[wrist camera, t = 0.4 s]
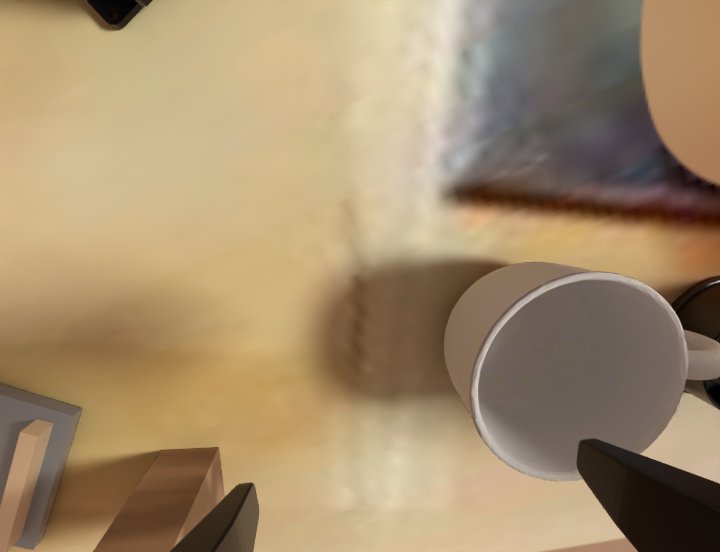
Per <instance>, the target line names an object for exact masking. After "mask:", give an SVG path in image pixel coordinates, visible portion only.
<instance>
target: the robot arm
mask: <svg viewBox="0 0 720 552" xmlns="http://www.w3.org/2000/svg"><path fill="white" fill-rule="evenodd" d="M87 1H88V2H89V4H90V5H91V6H92V7H93V8H94V9H95V10H96V11H97V12H98V13H99V14H100V16H101V17H102V18H103V19H104V20H105V21H106V22H108V23H109V24H110V25H111V26H113V27H114V28H117V29H121V28H123V27H125V26H126V25H127V24H128V23H129V22H130V21H131V19H132V18H133V17H134V16H135V15H136V14H137V13H138V12H139V11H140V10H141V9H142V8H143V7H144V6H147V5H148V4H149V3H150V2H151V1H152V0H87ZM114 12H117V18H116V19H112V14H113V13H114ZM576 465H577V469H578V472H579V474H580V475H581V477H582V478H583V479H584V481H585V482H586V484H587V485H588V487H589V488H590V489H591V491H592V492H593V494H594V495H595V496H596V498H597V499H598V501H599V502H600V503H601V505H602V506H603V508H604V509H605V510H606V512H607V513H608V515H609V516H610V517H611V519H612V520H613V521H614V523H615V524H616V525H617V527H618V528H619V529H620V530H621V532H622V533H623V534H624V535H625V537H626V538H627V539H628V540H629V541H630V542H631V544H632V545H633V546H634V547H635V548H636V549H637V551H638V552H720V484H719V483H717V482H714V481H711V480H708V479H706V478H703V477H700V476H697V475H695V474H692V473H689V472H686V471H684V470H681V469H678V468H675V467H673V466H670V465H667V464H664V463H662V462H659V461H656V460H653V459H651V458H648V457H645V456H643V455H640V454H637V453H634V452H632V451H629V450H626V449H623V448H621V447H618V446H615V445H612V444H610V443H607V442H604V441H601V440H599V439H595V438H590V439H582V440H580V442H579V444H578V452H577V459H576ZM258 519H259V504H258V499H257V494H256V489H255V485H254V484H253V483H252V482H250V483H243V484H238V485H237V486H236V487H235V488H234V489H233V490H232V491H231V492H230V493H229V494H228V495H226V496H225V497H224V498H223V499H222V500H221V501H220V502H219V503H218V504H217V505H216V506H215V507H214V508H213V509H212V510H211V511H210V512H209V513H208V514H207V515H206V516H205V517H204V518H203V519H202V520H201V521H200V522H199V523H198V524H197V525H196V526H195V527H194V528H193V529H192V530H191V531H190V532H189V533H188V534H187V535H186V536H185V537H184V538H183V539H182V540H181V541H180V542H179V543H178V544H176V545H175V546H174V547H173V548H172V549H171V550H170V551H169V552H253V549H254V543H255V537H256V531H257V525H258Z"/></svg>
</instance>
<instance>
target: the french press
mask: <svg viewBox="0 0 720 552" xmlns="http://www.w3.org/2000/svg"><path fill="white" fill-rule="evenodd" d="M671 307H672V309H673V310H674V311H675V313H676V315H677V316H678V318H679V320H680V322H681V325H682V328H683V330H686V331H690V332H694V333H697V334H700V335H704V336H706V337H708V338H711V339H713V340H715V341H716V340H717V338H718V337H719V336H720V277H715V278H712V279H709V280H706V281H704V282H701V283H699V284H698V285H696V286H694V287H692V288H691V289H689V290H688V291H687V292H685V293H684V294H683V295H682V296H680V297H679V298H678V299H677V300H676V301H675V302H674V303H673V305H672V306H671ZM683 392H685V393H690V394H692V395H694V396H696V397H698V398H699V399H701V400H703V401H705V402H707V403H708V404H710V405H712V406H714V407H715V408H717V409H719V410H720V377H718V378H716V379H710V380H689V379H686V382H685V389H684V391H683Z"/></svg>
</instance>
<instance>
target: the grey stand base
mask: <svg viewBox="0 0 720 552" xmlns="http://www.w3.org/2000/svg"><path fill="white" fill-rule="evenodd" d="M81 411H82V408H79V407H76V406H73V405H70V404H66V403H63V402H60V401H56V400H53V399H50V398H46V397H43V396H40V395H36V394H33V393H30V392H26V391H23V390H20V389H17V388H13V387H10V386H7V385H3V384H0V552H7V551H8V550H9V549H10V548H11V547H12V546H18V547H22V548H26V549H31V550H34V548H35V547H36V546H37V545H38V544H39V543H40V541H41V540H42V539H43V536H44V533H45V529H46V526H47V523H48V519H49V516H50V513H51V510H52V506H53V503H54V500H55V496H56V493H57V490H58V487H59V483H60V480H61V477H62V473H63V470H64V467H65V464H66V460H67V457H68V454H69V450H70V447H71V444H72V441H73V437H74V434H75V431H76V427H77V424H78V421H79V418H80V414H81Z"/></svg>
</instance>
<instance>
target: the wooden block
mask: <svg viewBox="0 0 720 552" xmlns="http://www.w3.org/2000/svg"><path fill="white" fill-rule="evenodd" d="M224 497H225V495H224V487H223V478H222V470H221V462H220V453H219V447H216V448H196V449H175V450H161V451H160V453H159V454H158V456H157V457H156V459H155V460H154V462H153V463H152V465H151V466H150V468H149V469H148V471H147V472H146V474H145V475H144V477H143V478H142V480H141V481H140V483H139V484H138V486H137V487H136V489H135V490H134V492H133V493H132V494H131V496H130V497H129V499H128V500H127V502H126V503H125V505H124V506H123V508H122V509H121V511H120V512H119V514H118V515H117V517H116V518H115V520H114V521H113V523H112V524H111V526H110V527H109V529H108V530H107V532H106V533H105V535H104V536H103V538H102V539H101V541H100V542H99V544H98V545H97V547H96V548H95V550H94V551H93V552H169V551H170V550H171V549H172V548H173V547H174V546H175V545H176V544H178V543H179V542H180V541H181V540H182V539H183V538H184V537H185V536H186V535H187V534H188V533H189V532H190V531H191V530H192V529H193V528H194V527H195V526H196V525H197V524H198V523H199V522H200V521H201V520H202V519H203V518H204V517H205V516H206V515H207V514H208V513H209V512H210V511H211V510H212V509H213V508H214V507H215V506H216V505H217V504H218V503H219V502H220V501H221V500H222V499H223V498H224Z"/></svg>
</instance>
